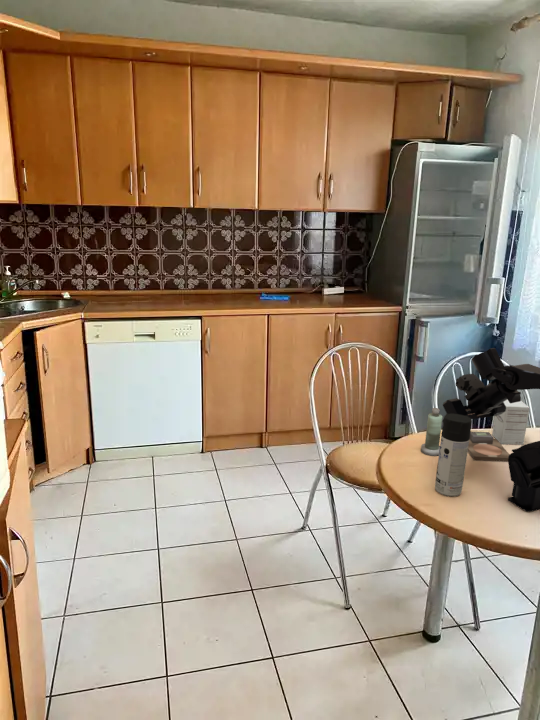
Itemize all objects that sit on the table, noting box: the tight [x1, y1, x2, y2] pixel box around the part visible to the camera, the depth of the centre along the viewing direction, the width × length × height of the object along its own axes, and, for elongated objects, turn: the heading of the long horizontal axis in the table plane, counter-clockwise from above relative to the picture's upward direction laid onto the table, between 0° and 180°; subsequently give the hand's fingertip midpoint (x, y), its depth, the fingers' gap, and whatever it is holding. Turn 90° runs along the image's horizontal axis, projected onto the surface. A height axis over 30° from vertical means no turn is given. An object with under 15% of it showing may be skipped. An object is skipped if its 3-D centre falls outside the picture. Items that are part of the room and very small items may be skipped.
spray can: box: [434, 413, 473, 498], centre depth 139 cm, size 7×7×20 cm
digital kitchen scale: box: [467, 430, 511, 463], centre depth 166 cm, size 14×11×4 cm
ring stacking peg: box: [420, 407, 444, 457], centre depth 163 cm, size 6×6×14 cm
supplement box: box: [491, 399, 531, 446], centre depth 173 cm, size 7×7×13 cm
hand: (455, 420), depth 155 cm, fingers open, 9 cm apart
